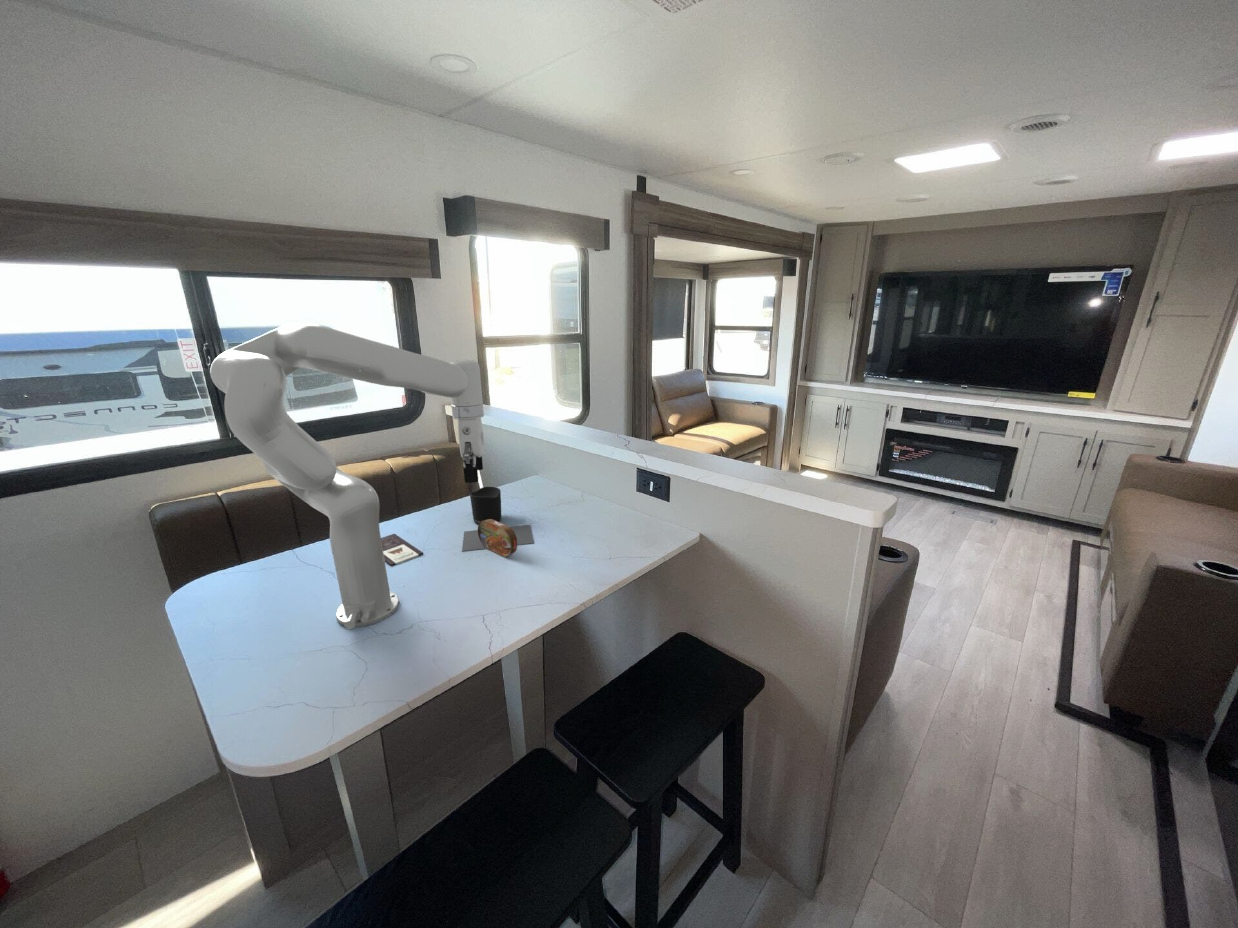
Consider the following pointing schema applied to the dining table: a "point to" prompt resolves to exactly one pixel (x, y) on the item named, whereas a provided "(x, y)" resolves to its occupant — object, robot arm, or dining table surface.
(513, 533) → the tin
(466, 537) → the mat
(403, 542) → the chocolate bar
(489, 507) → the pen holder
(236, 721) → the dining table surface
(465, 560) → the dining table surface
